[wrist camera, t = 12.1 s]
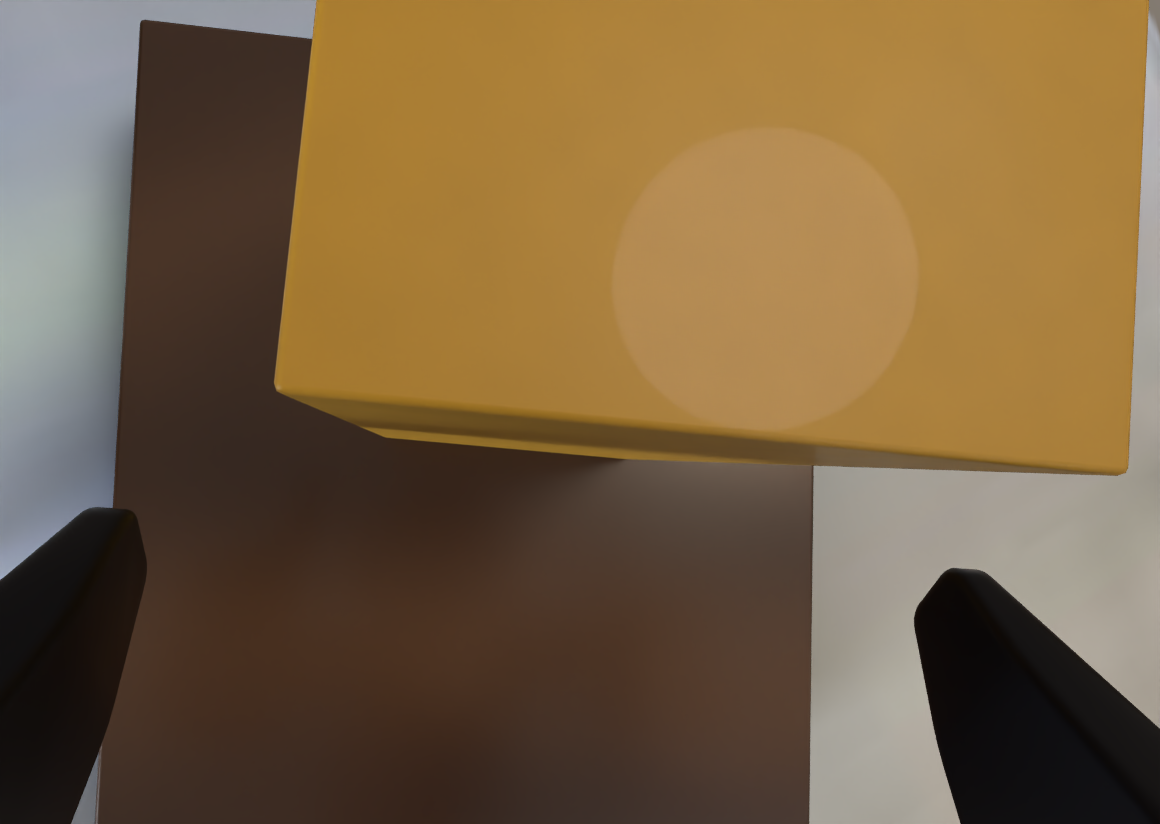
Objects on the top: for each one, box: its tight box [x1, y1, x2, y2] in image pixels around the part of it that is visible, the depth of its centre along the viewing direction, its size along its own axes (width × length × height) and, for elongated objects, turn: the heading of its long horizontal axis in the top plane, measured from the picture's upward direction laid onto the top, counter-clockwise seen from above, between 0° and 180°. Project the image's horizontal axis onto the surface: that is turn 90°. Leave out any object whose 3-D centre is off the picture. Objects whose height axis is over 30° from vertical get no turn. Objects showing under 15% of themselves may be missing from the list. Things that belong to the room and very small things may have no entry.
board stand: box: [95, 20, 813, 824], centre depth 19 cm, size 18×14×4 cm
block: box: [274, 0, 1149, 476], centre depth 11 cm, size 5×5×12 cm
